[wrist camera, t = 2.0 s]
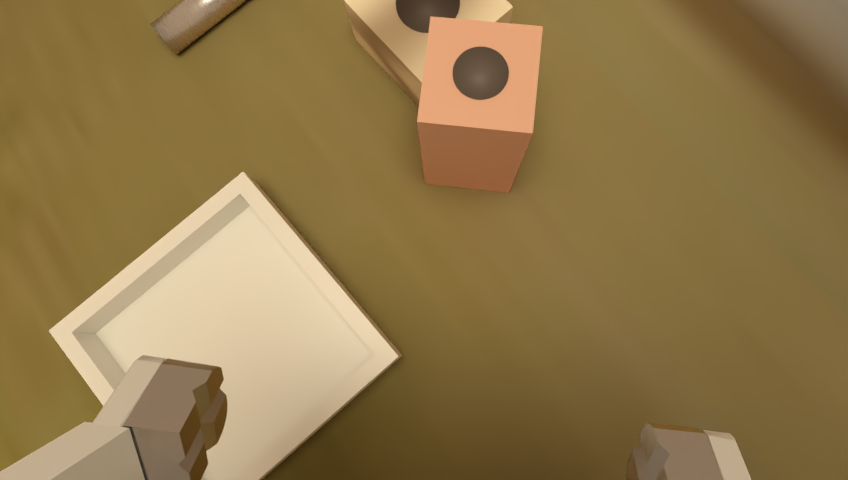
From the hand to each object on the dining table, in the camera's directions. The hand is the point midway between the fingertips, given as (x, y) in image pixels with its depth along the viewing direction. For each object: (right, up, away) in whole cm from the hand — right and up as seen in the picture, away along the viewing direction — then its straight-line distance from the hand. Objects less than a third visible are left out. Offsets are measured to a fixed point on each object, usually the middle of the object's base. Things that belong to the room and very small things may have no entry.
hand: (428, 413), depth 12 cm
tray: (-10, -2, +19) cm, 22 cm away
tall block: (+3, +8, +21) cm, 23 cm away
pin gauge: (-12, +18, +23) cm, 31 cm away
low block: (0, +14, +22) cm, 27 cm away
